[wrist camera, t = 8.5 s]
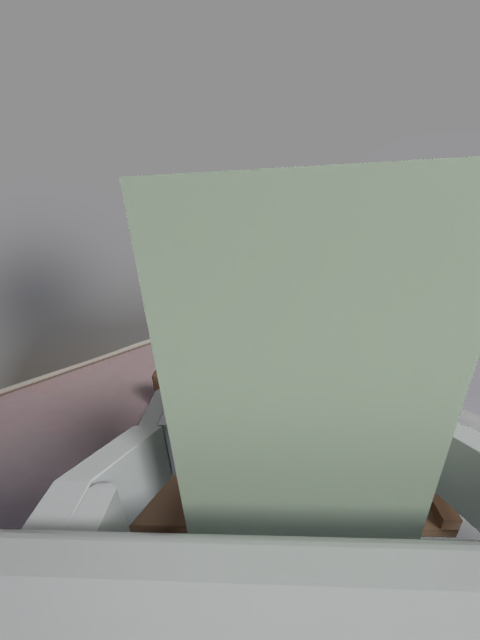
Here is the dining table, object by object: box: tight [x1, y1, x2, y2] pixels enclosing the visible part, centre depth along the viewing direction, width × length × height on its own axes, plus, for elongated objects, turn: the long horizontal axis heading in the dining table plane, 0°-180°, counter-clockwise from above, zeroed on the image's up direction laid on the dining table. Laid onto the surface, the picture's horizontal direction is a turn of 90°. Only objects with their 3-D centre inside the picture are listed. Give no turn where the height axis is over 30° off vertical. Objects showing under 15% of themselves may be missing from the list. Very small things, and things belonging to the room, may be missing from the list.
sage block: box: [119, 156, 480, 539], centre depth 9 cm, size 5×5×14 cm
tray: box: [129, 370, 462, 537], centre depth 27 cm, size 25×14×5 cm, turn 87°
